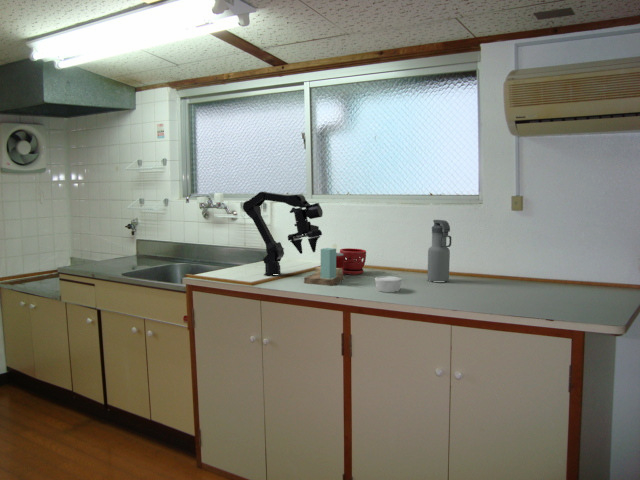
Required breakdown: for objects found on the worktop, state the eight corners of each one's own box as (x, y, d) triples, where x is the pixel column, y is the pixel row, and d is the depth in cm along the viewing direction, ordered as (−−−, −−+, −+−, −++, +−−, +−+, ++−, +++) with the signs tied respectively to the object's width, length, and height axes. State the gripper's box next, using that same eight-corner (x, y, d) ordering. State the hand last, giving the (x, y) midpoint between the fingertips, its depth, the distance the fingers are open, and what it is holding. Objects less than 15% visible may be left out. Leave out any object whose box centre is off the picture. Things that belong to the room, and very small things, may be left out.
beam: (315, 274, 250) (315, 267, 249) (317, 272, 253) (317, 266, 252) (339, 275, 245) (339, 269, 245) (341, 274, 248) (341, 268, 248)
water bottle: (454, 281, 244) (455, 220, 241) (436, 283, 240) (438, 221, 236) (439, 278, 253) (441, 219, 250) (423, 279, 249) (424, 219, 245)
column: (320, 277, 240) (320, 248, 239) (327, 276, 244) (327, 247, 243) (329, 278, 237) (329, 249, 236) (336, 277, 241) (336, 248, 240)
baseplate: (304, 283, 241) (304, 277, 240) (316, 277, 254) (316, 272, 253) (333, 285, 235) (333, 279, 235) (344, 280, 248) (344, 274, 248)
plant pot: (348, 276, 257) (349, 252, 256) (334, 272, 269) (334, 248, 267) (371, 274, 264) (371, 250, 262) (356, 270, 275) (356, 247, 274)
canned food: (343, 275, 261) (344, 252, 260) (343, 278, 254) (343, 255, 252) (328, 274, 262) (328, 252, 261) (326, 277, 254) (326, 254, 253)
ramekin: (386, 286, 233) (386, 274, 233) (406, 290, 226) (407, 278, 225) (369, 290, 226) (369, 278, 225) (390, 294, 218) (390, 281, 217)
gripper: (327, 216, 252) (333, 248, 253) (301, 220, 266) (307, 251, 266) (310, 219, 244) (316, 252, 245) (284, 223, 258) (290, 255, 259)
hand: (307, 253), depth 254 cm, fingers open, 9 cm apart
